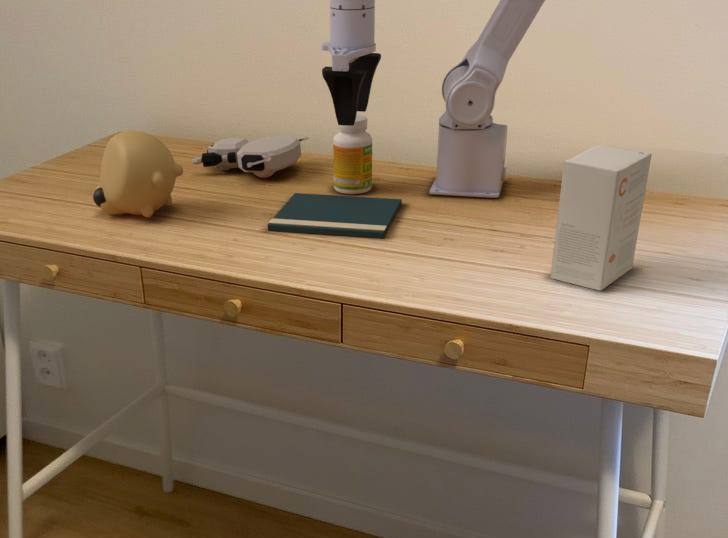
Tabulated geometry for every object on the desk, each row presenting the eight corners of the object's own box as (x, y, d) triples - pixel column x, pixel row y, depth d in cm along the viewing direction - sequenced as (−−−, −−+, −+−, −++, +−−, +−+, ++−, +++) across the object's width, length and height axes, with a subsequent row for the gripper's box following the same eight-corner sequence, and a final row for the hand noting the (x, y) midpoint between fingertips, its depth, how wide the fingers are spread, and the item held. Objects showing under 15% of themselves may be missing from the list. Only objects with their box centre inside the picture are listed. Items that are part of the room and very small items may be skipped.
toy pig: (159, 226, 130) (105, 170, 129) (205, 167, 123) (148, 107, 122) (120, 248, 123) (63, 188, 121) (166, 187, 115) (105, 122, 114)
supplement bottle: (368, 195, 128) (369, 123, 123) (330, 194, 129) (329, 122, 124) (374, 183, 133) (375, 113, 127) (337, 182, 134) (336, 112, 128)
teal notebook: (401, 204, 125) (402, 198, 124) (383, 238, 114) (383, 231, 114) (294, 198, 128) (294, 192, 127) (267, 230, 118) (267, 223, 117)
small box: (581, 256, 108) (598, 142, 101) (633, 269, 105) (654, 152, 97) (548, 278, 103) (562, 159, 96) (600, 292, 99) (620, 170, 92)
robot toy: (189, 182, 138) (277, 185, 132) (184, 150, 136) (273, 153, 129) (230, 160, 147) (314, 162, 141) (226, 130, 145) (312, 132, 138)
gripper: (335, -2, 124) (336, 104, 132) (307, 15, 113) (310, 130, 120) (386, -1, 123) (384, 105, 131) (364, 16, 111) (363, 132, 119)
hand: (352, 117), depth 125 cm, fingers open, 7 cm apart
